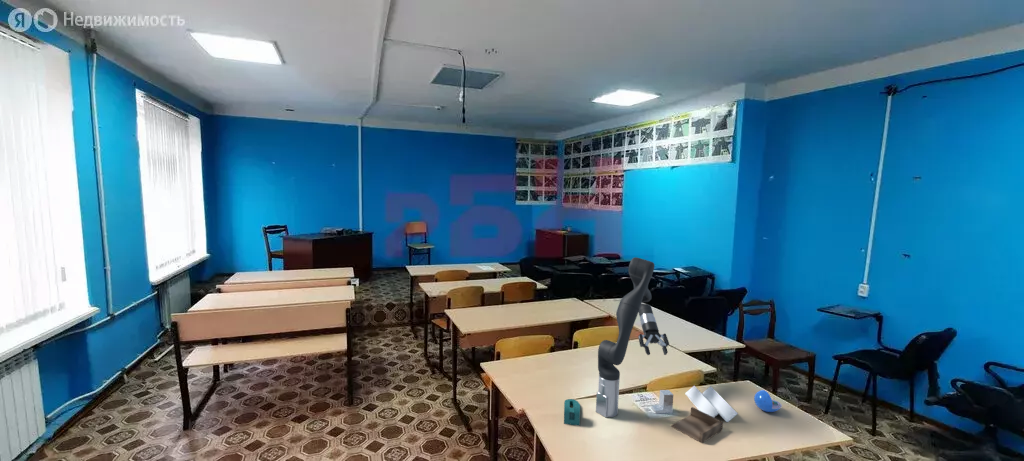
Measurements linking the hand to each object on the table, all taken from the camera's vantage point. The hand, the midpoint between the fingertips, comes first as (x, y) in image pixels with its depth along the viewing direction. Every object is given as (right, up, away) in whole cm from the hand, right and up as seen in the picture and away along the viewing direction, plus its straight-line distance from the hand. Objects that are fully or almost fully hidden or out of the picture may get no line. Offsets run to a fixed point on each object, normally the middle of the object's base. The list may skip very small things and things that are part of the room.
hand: (657, 354), depth 197 cm
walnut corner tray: (+9, -25, -23) cm, 35 cm away
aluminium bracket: (-1, -23, -9) cm, 25 cm away
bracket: (-44, -23, -14) cm, 52 cm away
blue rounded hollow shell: (+50, -25, -7) cm, 56 cm away
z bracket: (+23, -24, -5) cm, 34 cm away
